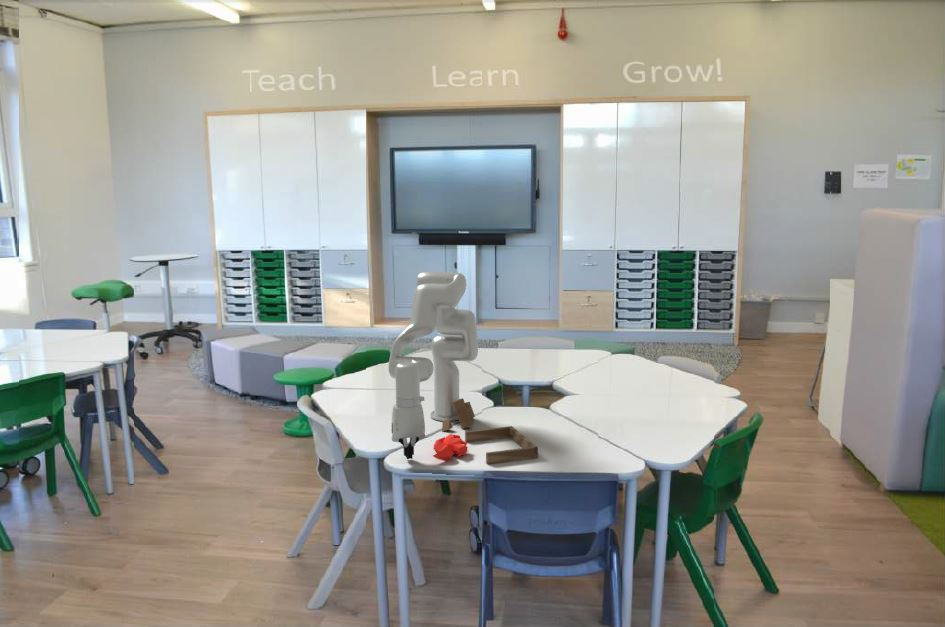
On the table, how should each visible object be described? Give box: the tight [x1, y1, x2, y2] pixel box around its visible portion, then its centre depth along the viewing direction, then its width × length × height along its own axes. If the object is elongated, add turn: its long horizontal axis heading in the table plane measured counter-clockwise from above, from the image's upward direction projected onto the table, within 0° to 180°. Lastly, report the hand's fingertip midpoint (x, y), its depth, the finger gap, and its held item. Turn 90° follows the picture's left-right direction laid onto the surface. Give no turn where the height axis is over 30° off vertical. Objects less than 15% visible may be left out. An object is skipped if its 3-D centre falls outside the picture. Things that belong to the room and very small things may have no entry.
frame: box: [464, 425, 539, 465], centre depth 231 cm, size 22×17×4 cm
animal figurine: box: [432, 433, 469, 462], centre depth 225 cm, size 12×15×5 cm
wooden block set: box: [441, 397, 476, 433], centre depth 255 cm, size 18×9×10 cm, turn 154°
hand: (408, 457), depth 221 cm, fingers closed
